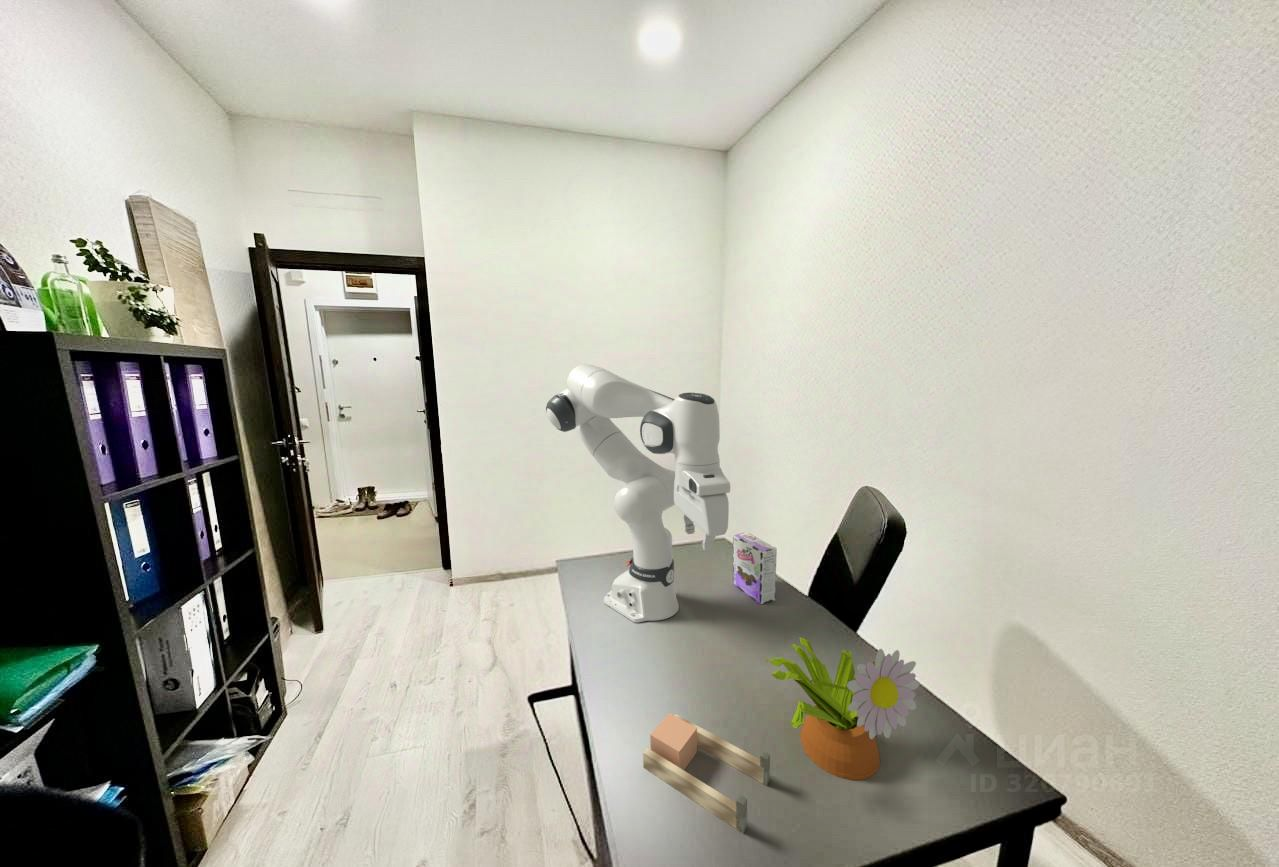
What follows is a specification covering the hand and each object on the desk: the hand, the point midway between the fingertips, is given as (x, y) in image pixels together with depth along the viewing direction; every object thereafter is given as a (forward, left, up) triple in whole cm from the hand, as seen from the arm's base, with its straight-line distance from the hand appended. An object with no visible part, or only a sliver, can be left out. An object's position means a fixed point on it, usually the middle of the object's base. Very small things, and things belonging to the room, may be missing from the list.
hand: (698, 541), depth 90 cm
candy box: (-7, +45, -34) cm, 56 cm away
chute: (+10, -17, -34) cm, 39 cm away
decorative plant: (+27, +4, -34) cm, 44 cm away
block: (+4, -17, -34) cm, 38 cm away
